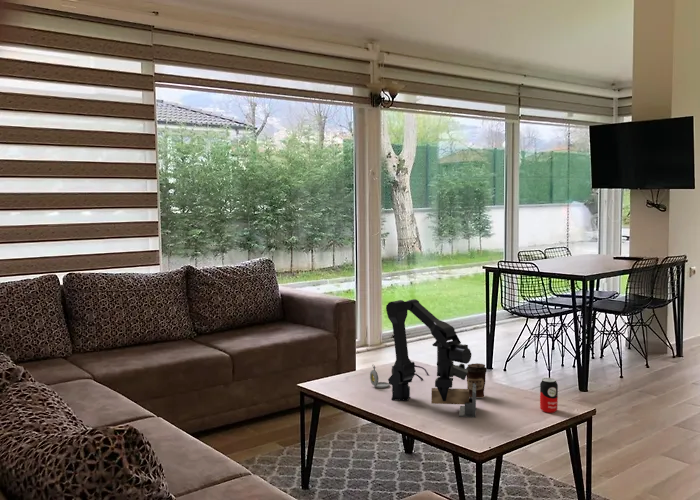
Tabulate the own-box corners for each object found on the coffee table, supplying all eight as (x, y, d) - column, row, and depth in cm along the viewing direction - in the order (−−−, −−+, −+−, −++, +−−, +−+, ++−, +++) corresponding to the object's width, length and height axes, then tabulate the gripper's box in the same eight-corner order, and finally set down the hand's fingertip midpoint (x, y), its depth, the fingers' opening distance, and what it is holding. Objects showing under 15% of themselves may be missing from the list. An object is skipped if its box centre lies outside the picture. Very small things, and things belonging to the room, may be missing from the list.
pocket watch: (392, 385, 293) (392, 362, 292) (382, 390, 285) (382, 367, 285) (375, 383, 297) (375, 360, 296) (365, 387, 290) (365, 364, 289)
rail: (431, 403, 257) (431, 390, 256) (431, 400, 260) (431, 387, 260) (469, 404, 255) (469, 391, 255) (468, 401, 258) (468, 388, 258)
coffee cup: (486, 400, 270) (486, 368, 269) (465, 399, 272) (465, 367, 271) (486, 393, 279) (486, 362, 278) (466, 392, 281) (466, 362, 279)
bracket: (459, 416, 251) (459, 391, 250) (460, 406, 263) (460, 382, 262) (475, 417, 250) (475, 392, 249) (475, 407, 262) (476, 383, 261)
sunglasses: (398, 371, 317) (398, 360, 316) (431, 374, 311) (431, 363, 310) (388, 378, 304) (388, 367, 304) (421, 382, 298) (421, 371, 298)
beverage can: (537, 411, 256) (538, 380, 255) (543, 407, 261) (543, 376, 260) (554, 414, 252) (554, 382, 251) (559, 409, 257) (560, 378, 256)
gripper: (465, 366, 246) (465, 408, 247) (467, 353, 264) (466, 393, 265) (434, 364, 248) (434, 406, 249) (438, 352, 266) (438, 391, 268)
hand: (444, 399), depth 258 cm, fingers closed on rail, 4 cm apart
